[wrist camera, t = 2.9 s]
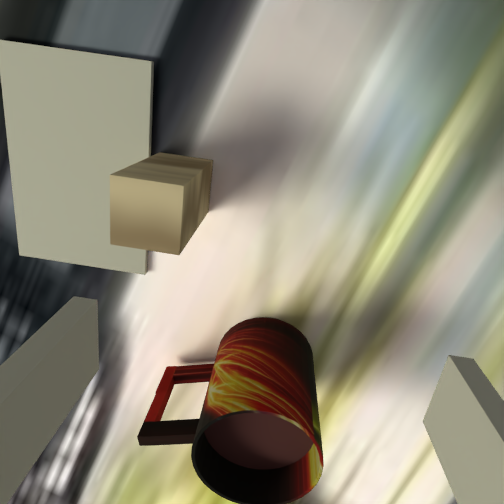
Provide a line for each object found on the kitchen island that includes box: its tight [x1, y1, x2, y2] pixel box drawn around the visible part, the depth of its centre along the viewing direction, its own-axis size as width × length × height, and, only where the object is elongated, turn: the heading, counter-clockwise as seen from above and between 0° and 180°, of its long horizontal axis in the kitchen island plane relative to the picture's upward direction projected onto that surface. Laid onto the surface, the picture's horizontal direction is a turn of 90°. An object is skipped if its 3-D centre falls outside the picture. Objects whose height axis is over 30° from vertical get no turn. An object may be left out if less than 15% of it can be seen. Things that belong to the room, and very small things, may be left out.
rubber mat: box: [0, 40, 154, 275], centre depth 33 cm, size 18×12×1 cm, turn 172°
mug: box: [137, 317, 323, 504], centre depth 34 cm, size 10×14×12 cm
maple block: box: [110, 152, 213, 255], centre depth 29 cm, size 4×4×10 cm
